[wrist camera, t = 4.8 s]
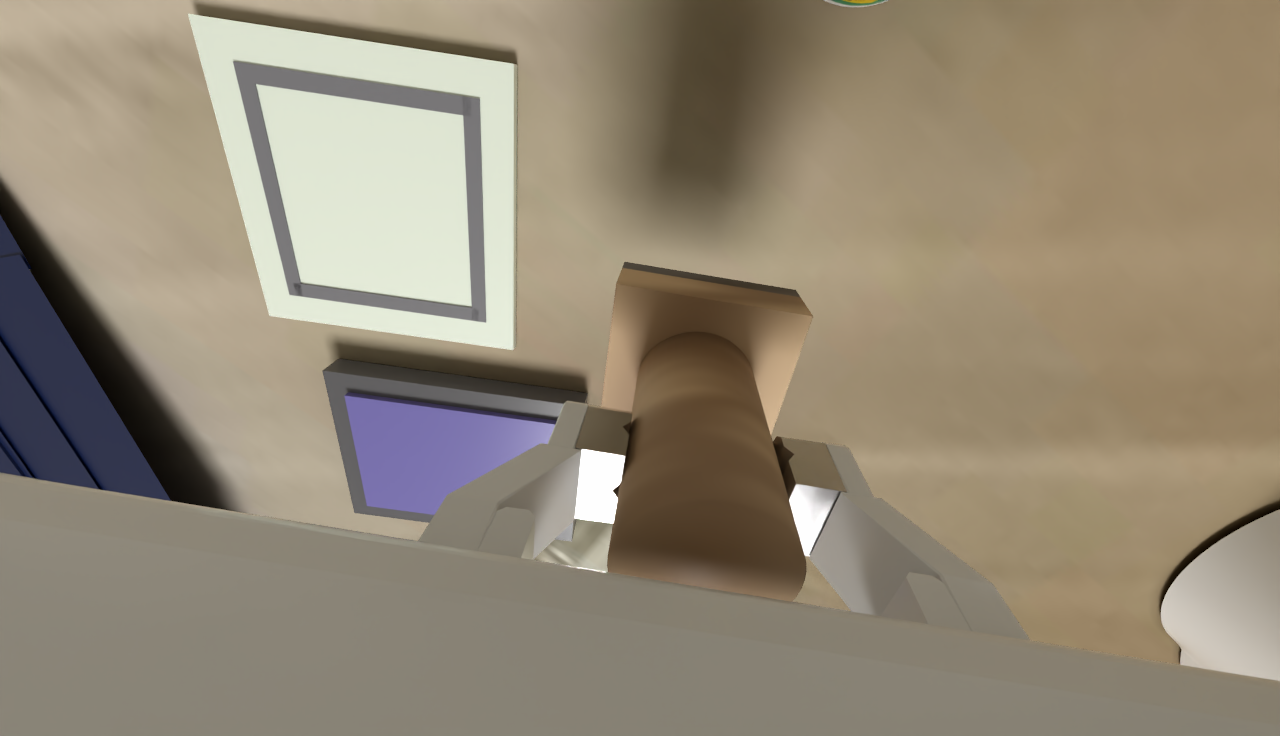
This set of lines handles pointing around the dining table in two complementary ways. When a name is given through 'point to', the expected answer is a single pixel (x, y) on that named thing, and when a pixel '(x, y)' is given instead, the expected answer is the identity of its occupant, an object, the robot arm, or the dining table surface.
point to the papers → (56, 397)
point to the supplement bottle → (855, 2)
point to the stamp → (704, 430)
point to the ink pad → (431, 432)
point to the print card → (371, 178)
